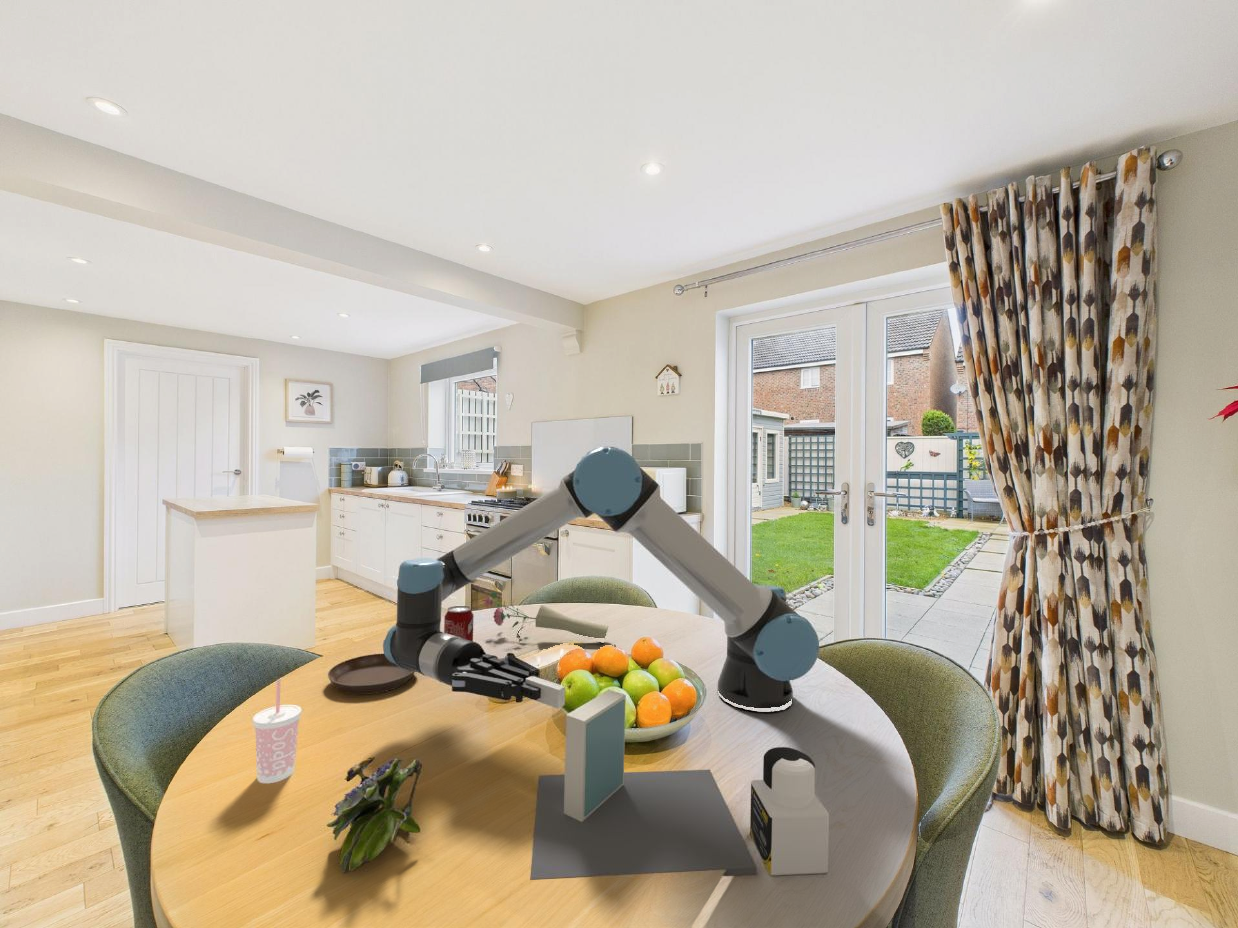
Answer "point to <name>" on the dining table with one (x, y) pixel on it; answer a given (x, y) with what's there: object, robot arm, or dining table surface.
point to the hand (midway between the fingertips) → (561, 697)
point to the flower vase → (551, 620)
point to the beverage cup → (276, 740)
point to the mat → (639, 829)
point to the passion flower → (373, 811)
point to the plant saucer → (368, 675)
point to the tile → (594, 753)
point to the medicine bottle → (789, 815)
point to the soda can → (459, 622)
